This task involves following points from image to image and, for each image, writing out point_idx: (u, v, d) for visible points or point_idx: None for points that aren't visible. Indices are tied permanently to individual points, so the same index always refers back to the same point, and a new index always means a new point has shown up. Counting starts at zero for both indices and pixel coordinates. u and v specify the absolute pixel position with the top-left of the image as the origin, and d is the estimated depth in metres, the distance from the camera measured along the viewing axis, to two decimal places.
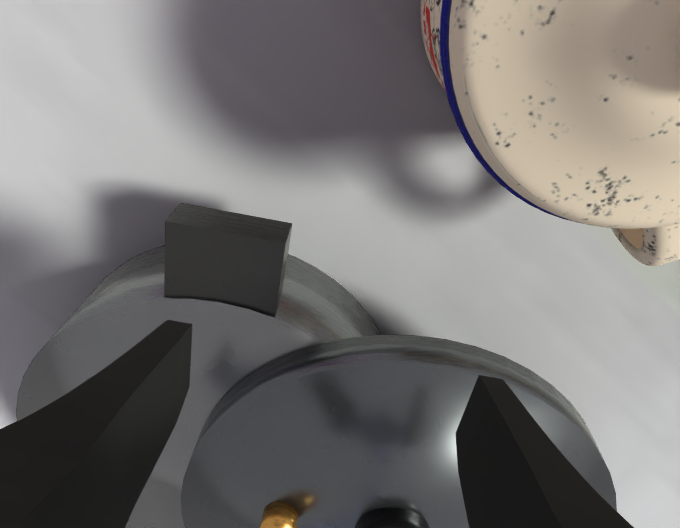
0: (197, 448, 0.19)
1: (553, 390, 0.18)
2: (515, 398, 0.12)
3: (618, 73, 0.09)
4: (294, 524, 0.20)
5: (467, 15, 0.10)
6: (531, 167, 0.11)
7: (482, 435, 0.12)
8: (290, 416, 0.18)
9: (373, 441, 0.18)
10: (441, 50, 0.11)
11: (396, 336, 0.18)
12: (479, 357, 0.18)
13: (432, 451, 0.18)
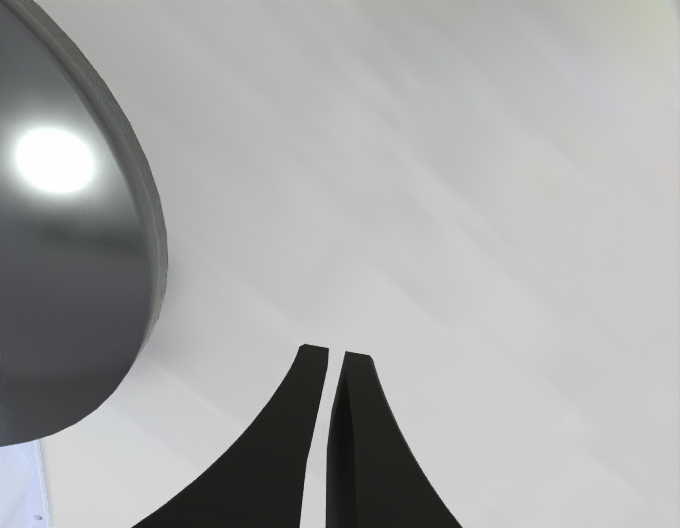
0: None
1: None
2: (371, 373, 0.12)
3: None
4: None
5: None
6: None
7: (338, 410, 0.12)
8: None
9: None
10: None
11: None
12: None
13: None
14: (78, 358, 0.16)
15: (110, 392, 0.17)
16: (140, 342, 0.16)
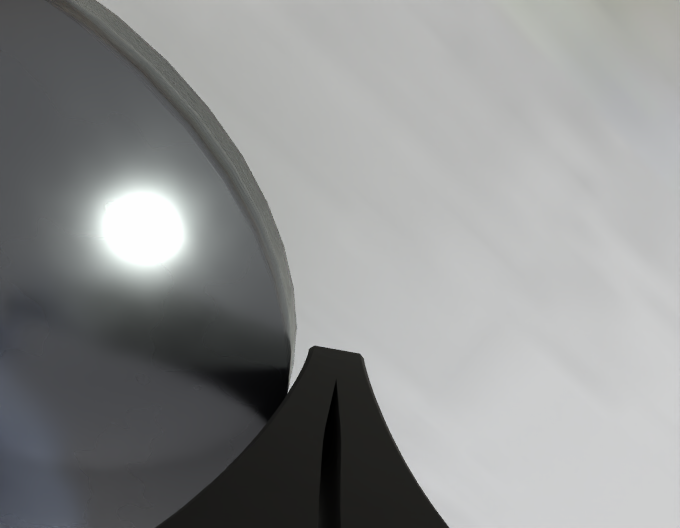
0: None
1: (107, 16, 0.09)
2: (360, 371, 0.11)
3: None
4: None
5: None
6: None
7: None
8: None
9: None
10: None
11: None
12: None
13: None
14: (184, 480, 0.13)
15: None
16: None
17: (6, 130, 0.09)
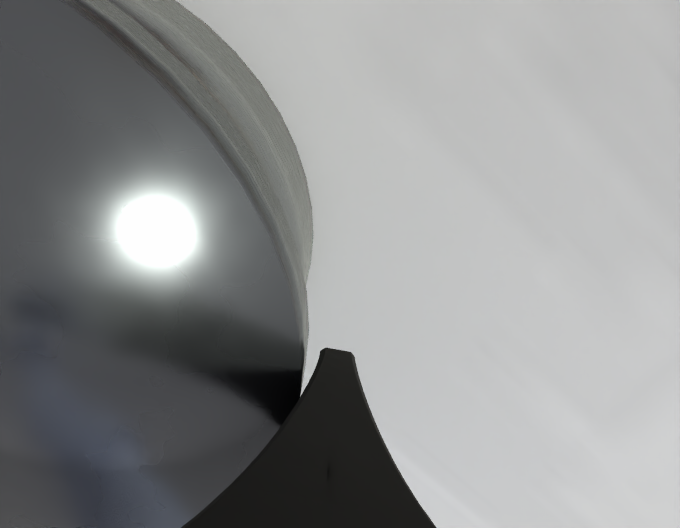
0: None
1: (125, 20, 0.09)
2: (351, 370, 0.11)
3: None
4: None
5: None
6: None
7: None
8: None
9: None
10: None
11: None
12: None
13: None
14: (196, 483, 0.13)
15: None
16: None
17: (24, 134, 0.09)
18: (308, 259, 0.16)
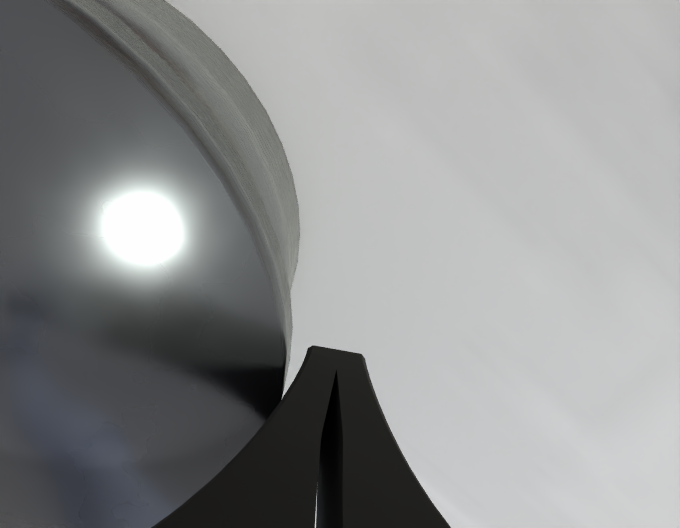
0: None
1: (106, 15, 0.09)
2: (362, 372, 0.11)
3: None
4: None
5: None
6: None
7: (329, 409, 0.12)
8: None
9: None
10: None
11: None
12: None
13: None
14: (179, 480, 0.13)
15: None
16: None
17: (4, 129, 0.09)
18: (294, 257, 0.16)
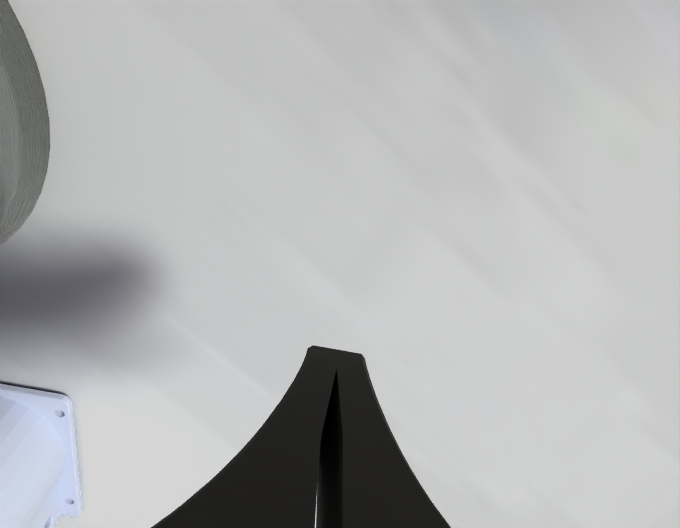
0: None
1: None
2: (362, 372, 0.12)
3: None
4: None
5: None
6: None
7: (329, 409, 0.12)
8: None
9: None
10: None
11: None
12: None
13: None
14: None
15: None
16: None
17: None
18: (24, 105, 0.18)
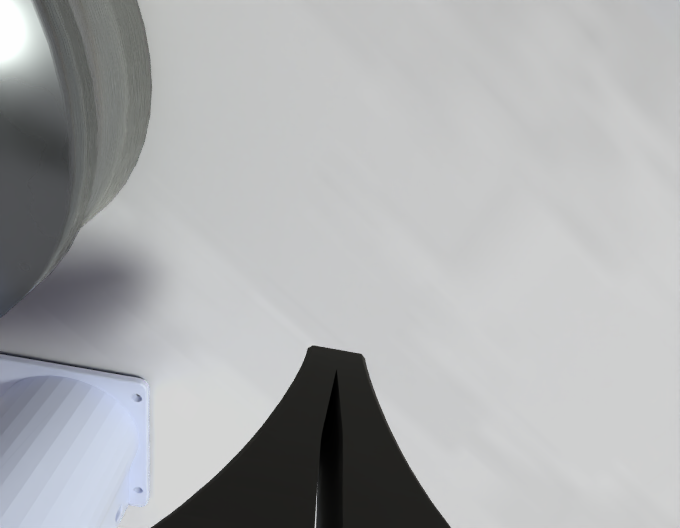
0: None
1: None
2: (362, 372, 0.11)
3: None
4: None
5: None
6: None
7: (329, 409, 0.12)
8: None
9: None
10: None
11: None
12: None
13: None
14: None
15: (35, 277, 0.15)
16: (64, 212, 0.14)
17: None
18: (135, 67, 0.17)
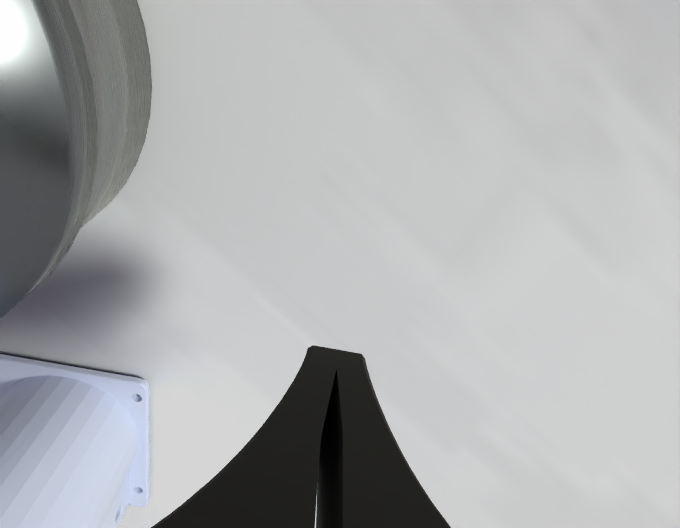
0: None
1: None
2: (362, 372, 0.11)
3: None
4: None
5: None
6: None
7: (329, 409, 0.12)
8: None
9: None
10: None
11: None
12: None
13: None
14: None
15: (35, 277, 0.15)
16: (64, 212, 0.14)
17: None
18: (135, 67, 0.17)
